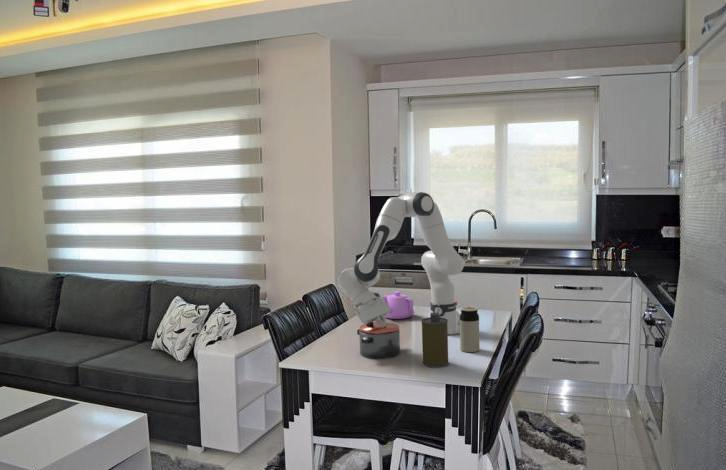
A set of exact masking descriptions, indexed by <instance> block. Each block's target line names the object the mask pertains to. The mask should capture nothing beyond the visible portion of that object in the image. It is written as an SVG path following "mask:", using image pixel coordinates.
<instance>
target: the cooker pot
mask: <svg viewBox="0 0 726 470" xmlns="http://www.w3.org/2000/svg"><path fill="white" fill-rule="evenodd" d="M356 331H357V332H356V333H357V335H358V336H359V337H358V339H359V355H360V356H361V357H364V358H367V359H373V360H374V359H375V360H378V359H380V360H384V359H391V358H395V357H397V356H399V355H400V354H401V339H400V338H401V337H400V329H399V330H398V331H397V332H394V333H390V334H381V335H374V334H366V333H362V332H361V331H360V328H359V329H357V330H356Z"/></svg>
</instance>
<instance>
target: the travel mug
mask: <svg viewBox="0 0 726 470" xmlns="http://www.w3.org/2000/svg"><path fill="white" fill-rule="evenodd" d="M459 310H460V313H459V314H460V334H459V341H460V342H459V346H460V347H459V349H460V351H462V352H465V353H477V352H479V351H480V315H479V313H478V310H479V308H478V307H476V306H470V305H469V306H467V305H466V306H462V307H460V309H459Z"/></svg>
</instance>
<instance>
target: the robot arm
mask: <svg viewBox="0 0 726 470" xmlns="http://www.w3.org/2000/svg"><path fill="white" fill-rule="evenodd" d="M440 210H441V209H439V206H438V204H437V203H436V202H435V201H434V199H433V197H432V196H431V195H430V194H429V193H426V192H423V191H421V192H409V193H401V194H398V195H396V196H395V197H394V196H393V197H392V196H391V197H389V198H388V199H387V200H386V202H385V203H384V205H383V206H382V208H381V211H380V212H379V214H378V217H377V218H376V221H375V222H376V223H375V226H374V231H373V233H372V236H371V239H369V243H368V244H367V247H366V249H365V252H364V253H363V254H362V255H361V257H360V258H358V259H357V261H356V262H355V264H354V266H353V267H350V268H349V267H346V268H344V269H343V270H342V271H341V272H339V275H338V277H337V284H338V286H339V288H340V289H341V290H342V292H343V293H344V294H345V295H346V296H347V297H348V298H349V299H350V301H351V303H352V304H353V310H354V311H355V314H356V316H357V317H358V319H359V320H360V322H361V323H362V324H368V323H370V322H373V323H374V322H376V323H378V324H379V325H381V327H382V328H383V327H386V326H387V325H388V323H389V322H388V321H387V319H386V317H385V316H386V315H388V314H389V313H390V311H391V310H390V307H389V306H388V305H387V303H386V302H385V301H384V300H383V299H382V297H381V295H380V293H379V292H375V291H374V292H373V291H370V290H369V289H370V288H371V287H373V286H374V285H376V284H377V283H378V282H379V280H380V278H381V273H380V269H379V260H380V257H381V254H382V252H383V250H384V247H385V245H386V243H387V242H388V241H392V240H394V239H396V237H397V235H398V234H399V232H400V230H401V228H402V226H403V223H404V220H405V218H414V217H417V218H418V222H419V226H420V231H421V234H422V238H423V241H424V244H425V245H426V246H427V247H428V248H429V249H430V250H427V251H424V253H423V254H422V256H421V259H420V264H421V266H422V268H423V269H424V271H425V273H426V275H427V278H428V281H429V285H430V299H431V301H430V305H429V306H430V311H429V312H428V314H427V318H429V317H430V315H431V313H439V315H440V316H439V317H441V318H446V319H448V322H447V326H448V336H449V335H456V334H457V335H458V334H459V335H460V314H461V313H460V312H459V311H458V310H457V306H458V301H457V300H455V286H454V283H452V281H451V279H450V277H449V276H454V275H455V276H456V275H459V274H460V273H461V272H462V271H463V270H464V267H465V261H464V258H463V257H462V256H461V255H460V254H459V253H458V252H457V250H456V249H455V248H454V246H453V244H452V243H451V241H450V239H449V237H448V234H447V230H446V227H445V224H444V223H445V222H444V219H443V217H442V216H443V215H442V213H441V211H440ZM387 322H388V323H387Z"/></svg>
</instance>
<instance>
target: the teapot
mask: <svg viewBox="0 0 726 470" xmlns="http://www.w3.org/2000/svg"><path fill="white" fill-rule="evenodd" d="M380 296H381V295H380ZM380 298H382V299H383V300H384V301H385V302H386V303H387V305H388V306H389V307H390V310H391V311H390V313H389V314H388V315H386V316H384V317H385V319H386V318H387V319H394V320H403V319H408V318H411V316H414V315H415V313H416V312H415V310H414V299H412V298H411V297H408V296H407V295H406V294H402V293H401V291H394V292H393V294H384V296H381V297H380Z"/></svg>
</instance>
